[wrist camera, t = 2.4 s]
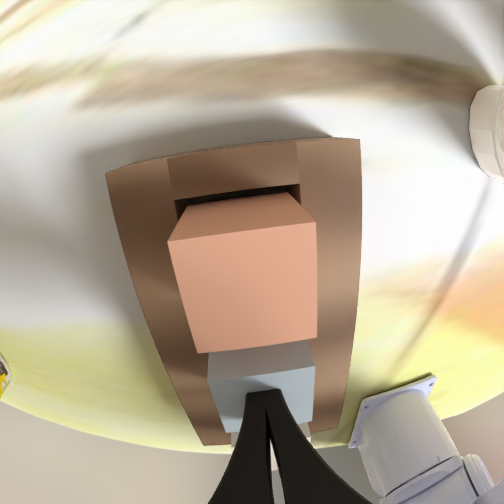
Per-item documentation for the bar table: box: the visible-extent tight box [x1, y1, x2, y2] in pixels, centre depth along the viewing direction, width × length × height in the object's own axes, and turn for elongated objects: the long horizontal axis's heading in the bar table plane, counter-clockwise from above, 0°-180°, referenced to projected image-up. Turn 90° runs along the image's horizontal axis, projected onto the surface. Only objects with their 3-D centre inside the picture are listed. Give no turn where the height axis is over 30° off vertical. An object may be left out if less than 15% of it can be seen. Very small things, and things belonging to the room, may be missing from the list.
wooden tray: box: [105, 137, 362, 446], centre depth 15 cm, size 19×10×3 cm, turn 6°
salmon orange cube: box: [167, 192, 317, 353], centre depth 10 cm, size 4×4×4 cm
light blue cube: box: [207, 339, 315, 433], centre depth 12 cm, size 4×4×4 cm
